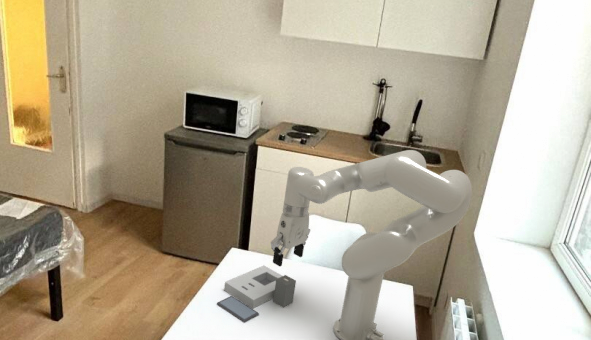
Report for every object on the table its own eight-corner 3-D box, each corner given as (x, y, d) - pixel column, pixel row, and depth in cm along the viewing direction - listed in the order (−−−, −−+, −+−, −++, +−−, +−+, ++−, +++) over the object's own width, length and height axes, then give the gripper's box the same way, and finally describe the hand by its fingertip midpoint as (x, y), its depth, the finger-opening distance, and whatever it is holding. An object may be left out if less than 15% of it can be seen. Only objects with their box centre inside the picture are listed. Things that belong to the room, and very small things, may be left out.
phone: (258, 316, 144) (259, 312, 144) (244, 324, 140) (244, 320, 139) (231, 299, 151) (231, 295, 151) (216, 306, 147) (216, 302, 146)
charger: (292, 302, 153) (296, 280, 150) (283, 307, 149) (286, 284, 147) (282, 296, 155) (285, 274, 153) (273, 301, 152) (276, 278, 150)
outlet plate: (291, 289, 160) (292, 280, 160) (252, 308, 147) (253, 299, 146) (262, 273, 168) (263, 265, 167) (224, 290, 155) (225, 281, 154)
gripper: (286, 219, 134) (277, 273, 140) (323, 207, 147) (314, 257, 153) (266, 210, 139) (259, 262, 144) (304, 198, 152) (296, 247, 157)
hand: (287, 259), depth 148 cm, fingers open, 9 cm apart
